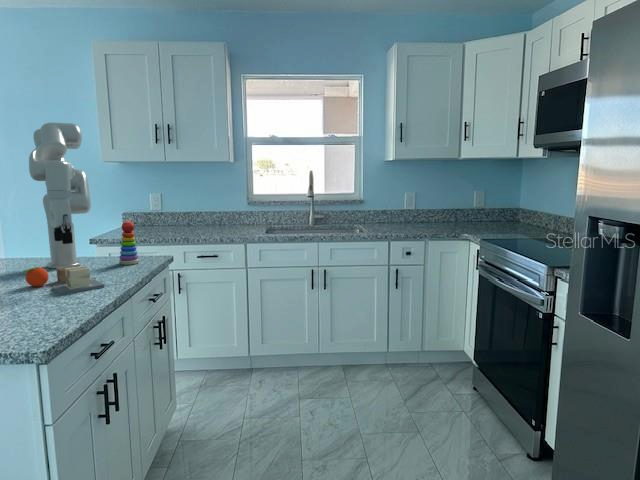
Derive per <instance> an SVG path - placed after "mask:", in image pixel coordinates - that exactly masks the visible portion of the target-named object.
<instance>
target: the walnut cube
mask: <svg viewBox="0 0 640 480" xmlns="http://www.w3.org/2000/svg"><path fill="white" fill-rule="evenodd" d="M65 268H71V267H64V268H57V269H55V270H56V278H57V282H58V283H60V285H63V284H66V275H65Z"/></svg>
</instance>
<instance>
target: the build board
mask: <svg viewBox="0 0 640 480" xmlns="http://www.w3.org/2000/svg"><path fill="white" fill-rule="evenodd" d="M101 288H105V284H104V283H102V282H100V281H98V280H96V279H90V285H89V286H83V287H77V288H70V287H69V286H67V285H66V283H64V284H58V285H53V286H51V290H52V291H54V292H55V293H57V294H58V295H60V296H64V295H70V294H74V293H75V294H76V293H80V292H86V291H92V290H97V289H101Z"/></svg>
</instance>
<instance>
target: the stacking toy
mask: <svg viewBox="0 0 640 480" xmlns="http://www.w3.org/2000/svg"><path fill="white" fill-rule="evenodd" d="M134 229H135V225H134V223H133V222H132V221H129V220H126V221H124V222H123V223H122V224H121V230H122V233H121V239H120V241H121V243H120V244H121V246H120V252H119V254H120V255H119V260H118V261H119V264H120V265H122V266H127V265H128V266H129V265H137V264H139V261H140V260H139V255H138V250H137V246H136V245H137V242H136V241H135V240H136V238H135V237H134V236H135V232H134Z"/></svg>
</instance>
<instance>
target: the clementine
mask: <svg viewBox="0 0 640 480" xmlns="http://www.w3.org/2000/svg"><path fill="white" fill-rule="evenodd" d="M24 276H25V282H26V283H27V284H28V285H30V286H32V287H34V288H35V287H37V288H38V287H42V286H43V285H45V284H46V283H47V281H48V280H49V273H48V271H47V270H46V269H45V268H44V267H39V266H35V267H31V268H29V269H27V270H25V272H24V273H23V276H22V277H24Z"/></svg>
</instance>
